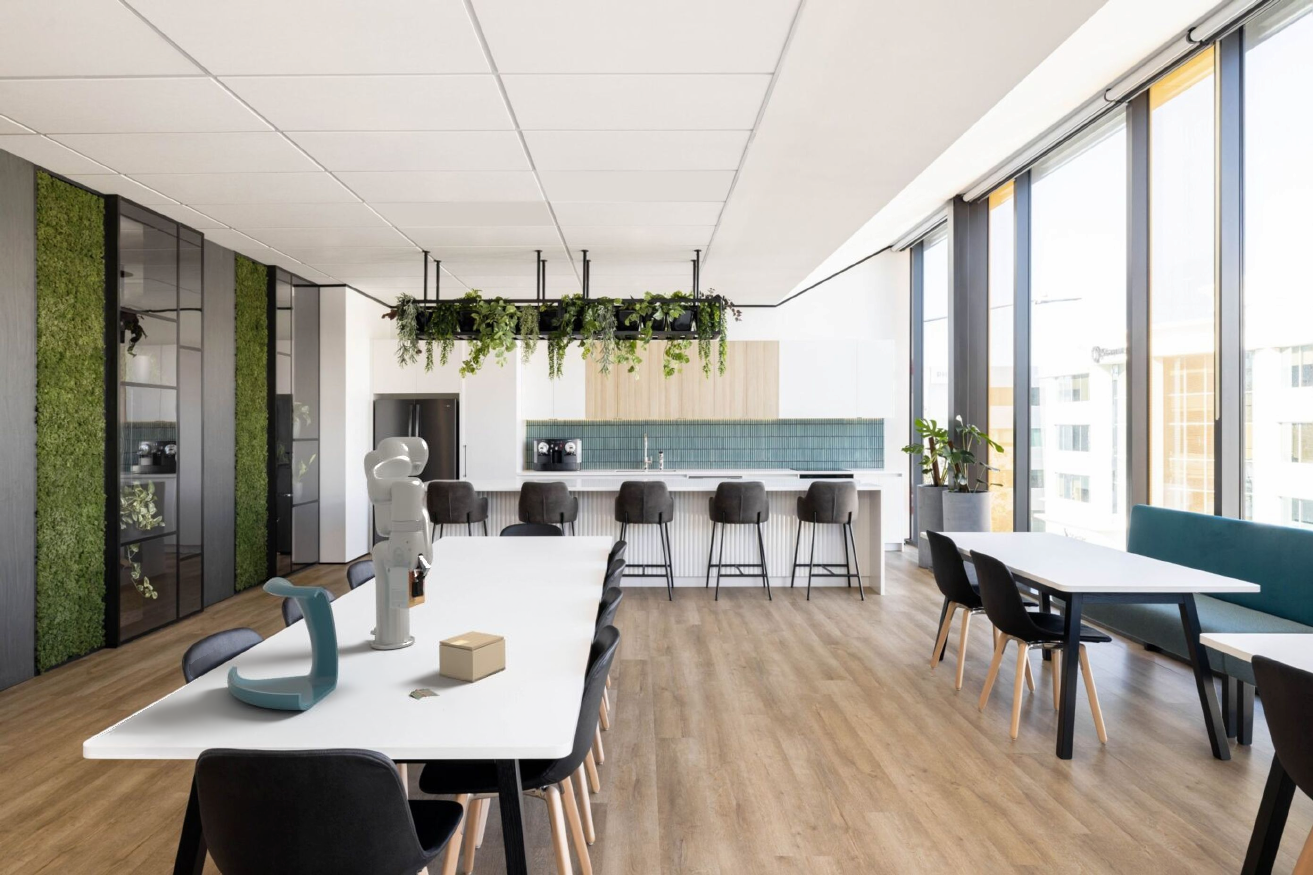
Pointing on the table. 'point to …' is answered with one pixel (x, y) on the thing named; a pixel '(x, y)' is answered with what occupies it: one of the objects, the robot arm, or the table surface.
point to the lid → (471, 640)
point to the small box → (403, 589)
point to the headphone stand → (324, 656)
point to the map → (423, 693)
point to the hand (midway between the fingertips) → (407, 594)
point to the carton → (472, 661)
